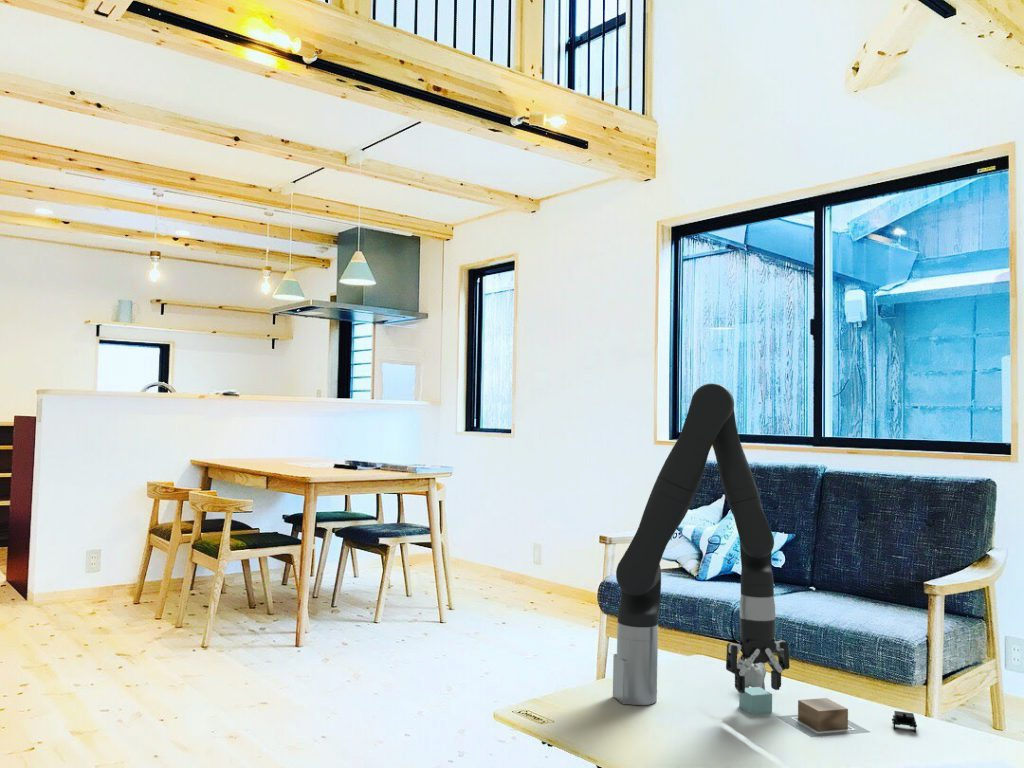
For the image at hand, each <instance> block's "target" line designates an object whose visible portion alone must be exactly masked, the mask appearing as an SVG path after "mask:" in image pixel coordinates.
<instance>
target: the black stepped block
mask: <svg viewBox="0 0 1024 768" xmlns="http://www.w3.org/2000/svg"><path fill="white" fill-rule="evenodd" d="M891 721H892V727H893V730H896V726H901V725H902V726H909V727H910V728H912V729H913V732H914V733H917V727H918V725H917V721H916V718H915V715H914V713H913V712H908V711H907V712H906V711H899V710H894V714H892V718H891Z"/></svg>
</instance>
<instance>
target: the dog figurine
mask: <svg viewBox="0 0 1024 768" xmlns="http://www.w3.org/2000/svg"><path fill="white" fill-rule="evenodd" d="M766 675H767V668H766V663H758V664H753V663H752V665H751V666H750V667H749V668H747V670H746V672H745V673H744V675H743V676H745V688H751V687H760V688H762V689H764V690H766V686H765V678H766Z"/></svg>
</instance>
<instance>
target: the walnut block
mask: <svg viewBox="0 0 1024 768" xmlns="http://www.w3.org/2000/svg"><path fill="white" fill-rule="evenodd" d="M797 715H798V720H800V721H802V722H804V723H805V724H807V725H809V726H811V727H812V728H814V729H816V730H817V731H826V730H838V729H848V720H849V708H847V707H845V706H844V705H841V704H839V703H837V702H835V701H833V700H831V699H830V698H828V697H824V698H808V699H798V700H797Z"/></svg>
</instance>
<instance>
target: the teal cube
mask: <svg viewBox="0 0 1024 768" xmlns="http://www.w3.org/2000/svg"><path fill="white" fill-rule="evenodd" d="M738 693H739V694H738V696H739V699H738V701H739V703H738V706H739V707H740V708H741V709H743V710H745V711H746V712H747V713H749V714H751V715H757V714H768V713H769V714H771V713H773V693H771V692H769V691H767V690H766V689H765V690H764V689H762V688H760V687H751V686H750V687H749V688H745V693H740V692H738Z"/></svg>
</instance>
